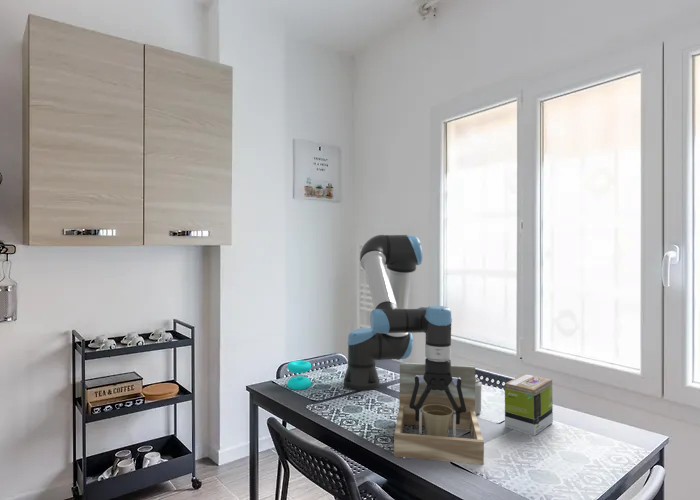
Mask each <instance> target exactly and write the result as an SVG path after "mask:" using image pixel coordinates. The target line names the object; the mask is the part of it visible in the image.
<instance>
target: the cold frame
mask: <svg viewBox="0 0 700 500" xmlns="http://www.w3.org/2000/svg"><path fill="white" fill-rule="evenodd" d="M416 374H417V375H419V376H420V375H424V374H425V363H417V362H416V363H414V362H413V363H412V362H399V394H398V395H399V399H398V400H399V401H398V402H399V405H398V411H397V418H396V423H395V427H394V428H395V430H394V435H393V436H394V437H393V439H394V440H393V441H394V446H393V448H394V449H393V454H394V455H393V457H399V458H408V459H418V460H419V459H420V460H429V461H443V462H450V463H451V462H452V463H462V464H463V463H464V464H473V465H474V464H475V465H484V464H485V442H484V438H483V434H482V430H481V428H480V427H481V426H480V424H479V420H478V418H477V415H476V413H475V377H476V366H474V365H473V366H470V365H469V366H468V365H453V364H452V365H451V376H452V377H455V378H457V377H460V378H461V390H462V394H463V399H464V403H465V407H466V412H462V413H460V423H459V424H456V429H458V430H469V432H470V436H471V438H465V437H455V436H452V437H451V436H448V437H442V436H430V435H426V434H416V433H404V425H407V426H418V427H419V421H416V420H415V410H414V409H411V408H410V407H409V406H410V401H411V397H412V393H413V389H414V385H415V375H416ZM426 386H427V383H426V382H425V380H424V379H423V380H422V382H421V383H419V388H418V392H417V396H416V399H415V403H414V404H417V402H418V401H419V399H420V397H421V395H422V394H423V392H424V390H425V388H426ZM448 387H449V389H450V391H451V393H452V395H453V397H454V399H455V401H456V403H457V405H458V407H461V404H460V400H459V395H458V391H457V387H456V385H454V382H453V381H452V382H451V383H450V384H449V385H448ZM429 404H439V405H444V406H448V407H450V408H451V409H452V410H453V411H455V410H454V408H453V406H452V404H451V402H450V400H449V398H448V396H447V394H446V393H445V391H444V390H443V391H440V390H432V389H431V391H430V393H429V394H428V396H427V397H426V399H425V401H424V403H423V405H422V406H421V408H422V407H423V406H425V405H429ZM421 408H420V409H421ZM422 427H425V420H424V416H423V412H422ZM449 429H453V414H452V417H451V419H450V424H449Z"/></svg>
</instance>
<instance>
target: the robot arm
mask: <svg viewBox="0 0 700 500" xmlns="http://www.w3.org/2000/svg"><path fill="white" fill-rule="evenodd" d="M359 261H360V262H359V263H360V265H361V268H362V269H363V270H364V271H365V275H366V279H367V283H368V289H369V292H370V296H371V301H372V305H373V309H372V310H371V312H370V317H369V323H370V327H362V328H357V329H354V330H351V331H350V332H349V333H348V336H347V337H348V338H347V367H346V368H347V369H346V371H345V373H344V374H345V375H344V377H343V387H344V388H346V389H348V390H352V391H358V392H359V391H360V392H361V391H362V392H364V391H365V392H366V391H372V390H373V391H374V390H376V389H378V388H379V387H380V382H381V381H380V377H379V374H378V371H377V367H376V363H377V361H386V360H387V361H388V360H392V361H393V360H396V361H400V360H406V359H408V358H409V357H410V356H411V354H412V352H413V347H414V343H413V342H414V341H413V340H414V337H413V334H414V333H416V334H417V333H424V334H425V349H424V350H425V352H424V353H425V355H424V356H425V357H426V358H425V359H424V362H425V363H424V364H425V374H424V375H420V376H419V375H417V374H416V375H415V385H414V389H413V393H412V397H411V401H410V406H409V407H410V408H411V409H414V410H415V420H416V421H419V426H418V434H419V435H423V434H422V429H423V426H422V410H421V409H420V408H421V406H422V405H423V403H424V401H425V399H426V397H427V396H428V394H429V393H430V391H431V389H432V390H440V391H443V390H444V391H445V393H446V394H447V396H448V398H449V400H450V402H451V404H452V406H453V408H454V410H455V411H453V428H452V437H457V430H456V424H459V423H460V413H462V412H466V407H465V403H464V399H463V394H462V390H461V378H460V377H457V378H455V377H452V376H451V364H452V363H451V362H452V361H451V357H452V322H453V319H452V310H451V308H450V307H447V306H443V305H429V306H427V307H425V306H424V307H423V306H422V307H421V306H420V307H418V308H409V303H410V292H411V284H412V283H411V282H412V274H413V273H415V272H416V270H417V266H420V265H421V264H422V262H423V249H422V244H421V240H420V238H418V237H417V236H416V235H409V234H378V235H375V236H373V237H370V238H369V239H368V240H367V241H366V242H365V243H364V244H363V245H362V248H361V250H360V254H359ZM388 271H389V273H388ZM423 379H424V380H425V382H426V383H427V386H426V388H425V390H424V392H423V394H422V395H421V397H420V399H419V401H418V402H417V404H414V403H415V399H416V396H417V392H418V388H419V383H421V382H422V380H423ZM452 381H453V382H454V385H456V387H457V391H458V395H459V400H460V404H461V407H458V405H457V403H456V401H455V399H454V397H453V395H452V393H451V391H450V389H449V387H448V385H449V384H450V383H451V382H452Z"/></svg>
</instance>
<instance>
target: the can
mask: <svg viewBox="0 0 700 500" xmlns="http://www.w3.org/2000/svg"><path fill="white" fill-rule="evenodd" d="M475 413H476V416H477V415H479V413H482V383H481V382H480V378H478V377H476V376H475Z"/></svg>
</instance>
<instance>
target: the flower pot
mask: <svg viewBox="0 0 700 500" xmlns="http://www.w3.org/2000/svg"><path fill="white" fill-rule="evenodd" d="M421 410H422V412H423V416H424V420H425V426H424V427H425V435H430V436H442V437H449V430H450V428H449V424H450V419H451V417H452V414H453V410H452V409H451V408H450V407H448V406H444V405H439V404H429V405H425V406H423V407H422V408H421Z"/></svg>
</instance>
